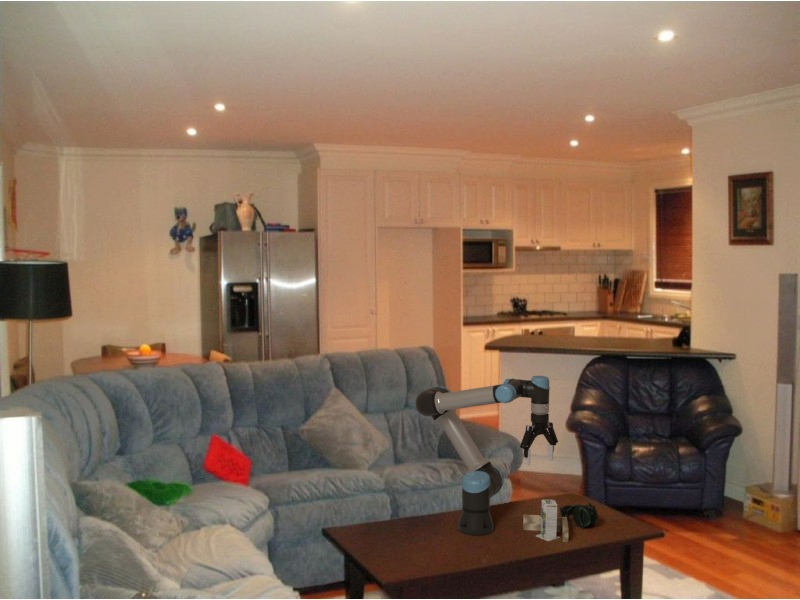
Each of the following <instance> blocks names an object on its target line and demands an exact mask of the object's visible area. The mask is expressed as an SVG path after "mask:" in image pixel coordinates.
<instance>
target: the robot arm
mask: <svg viewBox="0 0 800 600" xmlns="http://www.w3.org/2000/svg"><path fill="white" fill-rule="evenodd" d="M550 389H551V388H550V378H549V377H548V376H546V375H545V376H544V375H534V376H532V377H531V379H519V378H505V379H504V381H503V383H502V384H495V385H490V386H482V387H476V388H470V389H469V388H468V389H462V390H461V389H460V390H457V391H456V390H455V391H451V390H450V389H448V388H447V387H445V386H442V385H441V386H440V385H439V386H434V387H433V386H432V387H431V388H429V389H425V390H423V391H421V392H420V393H419V394H418V395H417V397H416V398H415V408H416V410H417V412H418V413H419V414H420V415H422V416H424V417H431V418H432V420H433V422H435V423H439V425H440V426H441V428H442V429H443V431H444V433H445V434H446V436H447V437H448V439H449V441H450V443H451V444H452V446H453V447H454V449H455V451H456V452H457V453H458V455H459V457H460V459H461V460H462V462H463V464H464V465H465V467H466V468H467V472H466V473H465V474H464V475H463V477H462V482H461V487H462V489H461V491H462V492H461V493H462V494H461V497H462V499H461V500H462V502H461V503H462V504H461V513H460V516H459V518H458V522H457V529H458V531H459V532H460V533H463V534H466V535H471V536H484V535H489V534H491V533H493V532H494V521H493V517H492V515H491V513H490V509H491V506H490V505H491V504H490V503H491V498H492V497H493V496H495V495H496V494H498V493H499V492H500V491H501V489H502V488H503V485H504V475H503V472H502V471H501V470H500V469H499V468H498V467H497V466H494V465H493V464H492V462H491V461H490V460H489V459H486V458H484V456H483V454H482V453H481V452H480V450H479V448H478V445H476V443H475V442H474V440H473V438H472V437H471V436H470V433H469V432H468V430H467V428H466V427H465V426H464V424H463V423H462V421H461V419H460V417H459V416H458V415H457V413H456V412H457V410H459V409H466V408H467V409H468V408H474V407H480V406H487V405H493V404H510V403H511V402H514V401H515V400H517V399H518V398H525V399H526V398H528V399H530V412H531V413H530V422H531V425H528V424H527V425H526V426H525V430H524V434H523V437H522V439H521V443H520V445H519V448H520V449H523V457H524V465H526V466H531V455H532V454H531V453H532V452H531V449H530V448H531V446H532V445H533V444H534V441H535V440H536V438H537V437H539V436H540V435H542V436H544V438H545V440H546V441H547V443H548V444H547V452H546V453H547V454H546V455H547V456H546V459H547V460H548V461H554V452H555V446H557V443H559V440H558V438H557V437H558V436H557V435H556V434H557V433H556V432H555V429H554V423H553V422H551V421H550V420H549V419H550V414H549V412H550Z"/></svg>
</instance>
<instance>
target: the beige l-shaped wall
mask: <svg viewBox="0 0 800 600" xmlns="http://www.w3.org/2000/svg"><path fill="white" fill-rule="evenodd" d="M522 518H523V523H522V527H523V528H522V530H523V531H535V532H537V531H538V532H541V514H540V515H539V514H523V517H522ZM557 533H561V536H562V542H563V543H569V522H568V521H567V517H561V516H558V515H557Z"/></svg>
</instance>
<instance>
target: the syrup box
mask: <svg viewBox="0 0 800 600" xmlns="http://www.w3.org/2000/svg"><path fill="white" fill-rule="evenodd" d="M540 508H541V509H540V515H541V531H540V534H541V535H542V537H543V538H556V536H557V533H558V532H557V516H558V504H557V502H556V500H555V499H541V507H540Z"/></svg>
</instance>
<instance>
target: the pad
mask: <svg viewBox="0 0 800 600" xmlns="http://www.w3.org/2000/svg"><path fill="white" fill-rule="evenodd" d="M535 537H536V538H538V539H542V540H544V541H546V542H551V541H553V540H557V539H560V538H561V537H560V536H558V535H556V538H543V537H542V535H541V533H540V534H539V533H538V534H536V535H535Z"/></svg>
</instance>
